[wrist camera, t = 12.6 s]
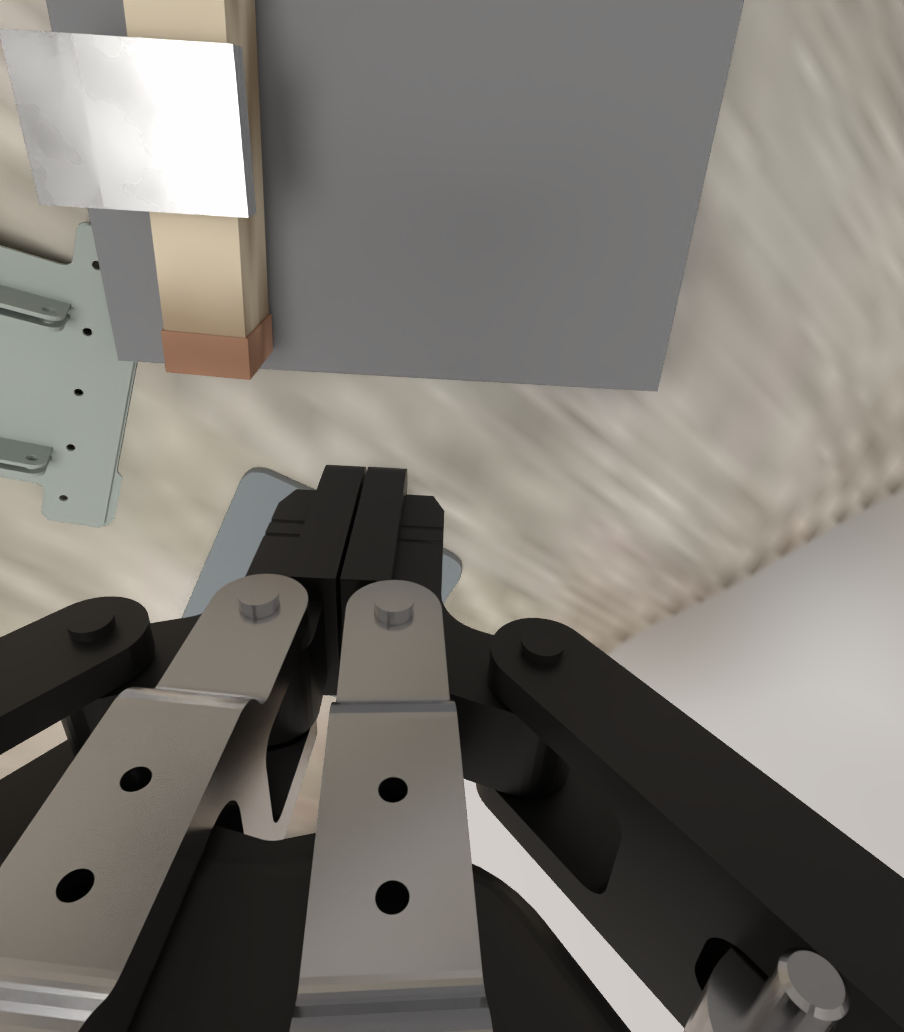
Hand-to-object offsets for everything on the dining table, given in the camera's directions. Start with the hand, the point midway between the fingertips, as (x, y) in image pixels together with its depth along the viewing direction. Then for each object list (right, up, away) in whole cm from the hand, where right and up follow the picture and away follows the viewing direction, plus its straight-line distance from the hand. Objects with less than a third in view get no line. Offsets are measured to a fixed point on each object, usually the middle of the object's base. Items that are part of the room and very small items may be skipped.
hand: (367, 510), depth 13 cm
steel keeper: (-8, +14, +12) cm, 21 cm away
